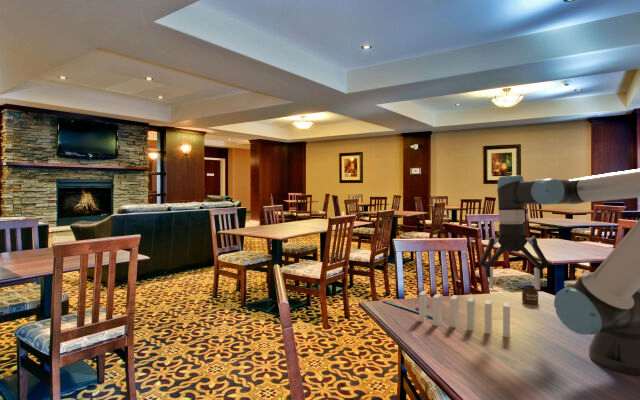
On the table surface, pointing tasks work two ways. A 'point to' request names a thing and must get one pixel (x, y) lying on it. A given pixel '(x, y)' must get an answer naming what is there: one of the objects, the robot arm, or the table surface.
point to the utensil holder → (529, 294)
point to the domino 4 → (470, 313)
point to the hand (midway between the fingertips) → (514, 288)
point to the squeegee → (410, 309)
